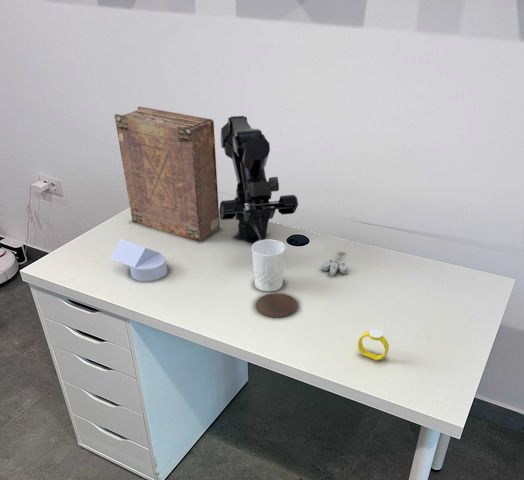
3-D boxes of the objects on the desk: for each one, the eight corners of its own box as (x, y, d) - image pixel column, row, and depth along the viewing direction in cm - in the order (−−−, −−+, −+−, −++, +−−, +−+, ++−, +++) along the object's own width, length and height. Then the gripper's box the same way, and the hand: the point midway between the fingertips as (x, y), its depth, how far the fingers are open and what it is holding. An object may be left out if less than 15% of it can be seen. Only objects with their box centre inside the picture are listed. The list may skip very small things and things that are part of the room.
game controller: (323, 276, 132) (323, 267, 131) (320, 254, 141) (320, 245, 140) (346, 276, 132) (347, 267, 131) (341, 254, 141) (342, 245, 140)
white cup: (285, 293, 127) (285, 255, 120) (251, 293, 127) (250, 255, 121) (284, 276, 133) (285, 239, 127) (252, 275, 133) (252, 239, 127)
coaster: (270, 290, 128) (270, 289, 128) (305, 302, 123) (305, 301, 123) (247, 309, 122) (247, 308, 121) (283, 322, 117) (283, 321, 117)
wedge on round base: (112, 270, 136) (149, 285, 130) (107, 246, 132) (145, 260, 126) (137, 255, 142) (174, 269, 136) (133, 232, 137) (171, 245, 132)
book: (131, 221, 158) (113, 114, 139) (152, 210, 164) (137, 105, 145) (200, 242, 147) (190, 128, 129) (220, 229, 153) (213, 119, 135)
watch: (354, 355, 108) (357, 331, 104) (360, 348, 110) (363, 324, 106) (382, 365, 106) (386, 341, 102) (388, 357, 107) (392, 333, 104)
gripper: (217, 167, 122) (227, 233, 121) (297, 161, 125) (307, 225, 123) (216, 188, 133) (224, 248, 132) (289, 182, 136) (298, 241, 134)
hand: (263, 241), depth 130 cm, fingers closed
